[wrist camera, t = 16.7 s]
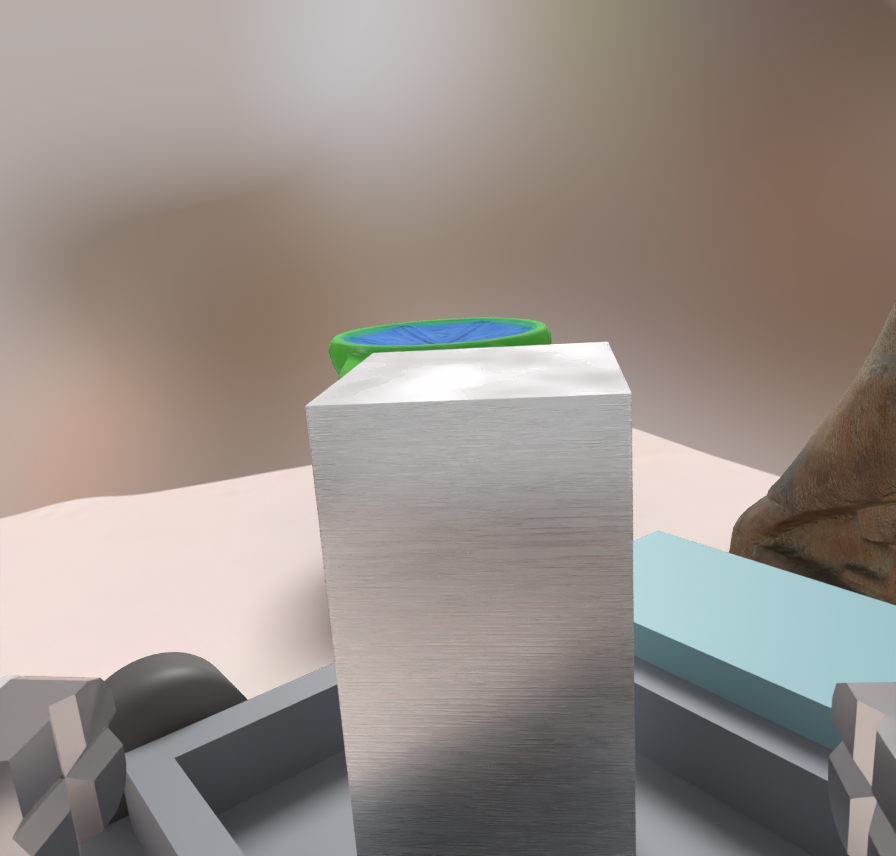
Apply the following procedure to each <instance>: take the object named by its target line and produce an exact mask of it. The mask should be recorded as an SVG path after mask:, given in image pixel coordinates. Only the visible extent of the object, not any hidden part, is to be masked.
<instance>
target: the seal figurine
mask: <svg viewBox="0 0 896 856" xmlns="http://www.w3.org/2000/svg"><path fill="white" fill-rule="evenodd" d="M729 553H731V554H734V555H737V556H740V557H743V558H747V559H750V560H753V561H756V562H759V563H762V564H766V565H769V566H772V567H775V568H778V569H781V570H785V571H788V572H791V573H794V574H797V575H800V576H804V577H807V578H810V579H813V580H816V581H819V582H823V583H826V584H829V585H832V586H835V587H839V588H842V589H845V590H848V591H851V592H854V593H858V594H861V595H864V596H867V597H870V598H873V599H877V600H880V601H883V602H886V603H889V604H892V605H896V302H895V304H894V306H893V308H892V310H891V312H890V314H889V316H888V319H887V321H886V323H885V326H884V328H883V330H882V332H881V334H880V336H879V338H878V339H877V341H876V344H875V346H874V347H873V349H872V351H871V353H870V354H869V356H868V358H867V359H866V361H865V363H864V365H863V366H862V368H861V370H860V371H859V373H858V374H857V376H856V377H855V379H854V380H853V382H852V384H851V385H850V387H849V388H848V389H847V391H846V392H845V394H844V395H843V397H842V398H841V400H840V401H839V402H838V404H837V405H836V406H835V408H834V409H833V410H832V412H831V413H830V414H829V415H828V416H827V418H826V419H825V420H824V421H823V423H822V424H821V426H820V427H819V428H818V429H817V431H816V432H815V434H814V435H813V436H812V438H811V439H810V440H809V442H808V443H807V444H806V446H805V447H804V448H803V450H802V451H801V452H800V454H799V455H798V456H797V458H796V459H795V460H794V462H793V463H792V464H791V465H790V466H789V468H788V469H787V470H786V471H785V472H784V474H783V475H782V476H781V478H780V479H779V480H778V481H777V482H776V483H775V484H774V485H773V486H772V487H771V488H770V489H769V491H768V494H767V495H766V496H765V497H763V498H762V499H760V500H759V501H758V502H756V503H755V504H754V505H752V506H751V507H749V508H748V509H747V510H746V511H745V512H744V513H743V514H742V515H741V516H740V517H739V519H738V520H737V522H736V524H735V525H734V528H733V532H732V538H731V545H730V551H729Z"/></svg>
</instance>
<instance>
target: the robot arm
mask: <svg viewBox="0 0 896 856" xmlns="http://www.w3.org/2000/svg"><path fill="white" fill-rule="evenodd" d="M115 713H116V707H115V703H114V699H113V695H112V691H111V686H110V685H108V684H107V683H106V682H104V681H103V680H102V679H101V678H84V677H47V676H23V677H22V676H18V675H4V676H0V856H81V854H80V845H81V844H82V843H84V842H86V841H87V840H89V839H90V838H92V837H94V836H95V835H97V834H98V833H100V832H102V831H103V830H104V829H105V828H106V826H107V825H108V823H109V822H110V820H111V819H112V817H113V816H114V814H115V813H116V812H117V810H118V807H119V804H120V801H121V797H122V794H123V791H124V788H125V785H126V764H127V763H126V757H125V752H124V746H123V744H122V743H121V741H120V740H119V739H118V738H117V737H116V736H115V735H114V734H113V733H112V732H111V730H110V729H109V728H108V726H109V724H110V722H111V720H112V718H113V717H114V715H115ZM831 720H832V722H833V724H834V725H835V727H836V729H837V731H838V733H839V735H840V736H841V738H842V740H843V741H842V742H841V743H840V744H839V745H838V746H837V747H836V748H835V749H834V751H833V752H832V753H831V754H830V755H829V760H828V789H829V796H830V803H831V810H832V815H833V818H834V821H835V825H836V828H837V831H838V834H839V836H840V839H841V841H842V843H843V845H844V848H845V850H846V852H847V854H848V855H849V856H896V682H859V683H836V686H835V690H834V693H833V696H832V707H831Z"/></svg>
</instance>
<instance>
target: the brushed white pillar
mask: <svg viewBox="0 0 896 856" xmlns="http://www.w3.org/2000/svg"><path fill="white" fill-rule="evenodd" d="M306 415H307V423H308V432H309V440H310V450H311V458H312V467H313V476H314V485H315V493H316V502H317V511H318V520H319V528H320V537H321V546H322V554H323V563H324V572H325V581H326V589H327V598H328V607H329V615H330V624H331V633H332V642H333V650H334V659H335V668H336V676H337V685H338V694H339V702H340V711H341V720H342V729H343V737H344V746H345V755H346V763H347V772H348V781H349V790H350V798H351V807H352V816H353V824H354V833H355V842H356V851H357V856H636V808H635V702H634V596H633V490H632V394H631V391H630V389H629V387H628V385H627V383H626V380H625V378H624V376H623V374H622V372H621V369H620V367H619V365H618V363H617V361H616V359H615V356H614V355H613V352H612V350H611V348H610V346H609V343H608V342H596V343H574V344H552V345H531V346H510V347H489V348H468V349H447V350H426V351H405V352H384V353H373V354H371V355H370V356H369V357H367V358H366V359H365V360H364V361H362V362H361V363H360V364H358V365H357V366H356V367H355V368H353V369H352V370H351V371H350V372H348V373H347V374H346V375H344V376H343V377H342V378H341V379H339V380H338V381H337V382H336V383H334V384H333V385H332V386H330V387H329V388H328V389H327V390H325V391H324V392H323V393H322V394H320V395H319V396H318V397H316V398H315V399H314V400H313V401H311V402H310V403H309V404H308V405H306Z"/></svg>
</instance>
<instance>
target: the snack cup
mask: <svg viewBox="0 0 896 856" xmlns="http://www.w3.org/2000/svg"><path fill="white" fill-rule="evenodd" d="M531 345H551V333H550V331H549V329H548V328H547V327H546V325H544V324H543V323H541V322H538V321H533V320H527V319H517V318H459V319H440V320H426V321H414V322H405V323H394V324H387V325H380V326H373V327H367V328H361V329H356V330H352V331H348V332H345V333H342V334H339V335H337V336H336V337H334V338H333V339H332V342H331V343H330V345H329V354H330V358H331V360H332V363H333V365H334V367H335V369H336V371H337V372H338V374H339V378H338V380H339V379H341V378H342V377H343V376H344V375H346V374H347V373H348V372H350V371H351V370H352V369H353V368H355V367H356V366H357V365H358V364H360V363H361V362H362V361H364V360H365V359H366V358H367V357H369V356H370V355H371V354H373V353H384V352H405V351H426V350H447V349H468V348H489V347H510V346H531Z"/></svg>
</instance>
